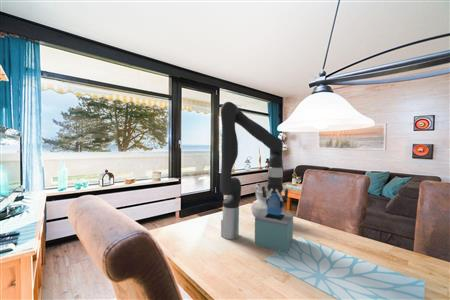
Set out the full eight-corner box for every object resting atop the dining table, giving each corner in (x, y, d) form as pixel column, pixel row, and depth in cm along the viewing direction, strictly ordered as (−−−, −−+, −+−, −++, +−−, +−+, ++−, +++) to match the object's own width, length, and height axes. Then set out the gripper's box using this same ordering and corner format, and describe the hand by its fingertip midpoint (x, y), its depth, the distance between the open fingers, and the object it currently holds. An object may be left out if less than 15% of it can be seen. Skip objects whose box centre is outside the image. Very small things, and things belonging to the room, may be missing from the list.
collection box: (254, 244, 108) (254, 218, 107) (263, 232, 122) (264, 209, 122) (287, 252, 100) (287, 224, 100) (292, 238, 115) (293, 213, 114)
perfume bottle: (281, 212, 112) (282, 190, 111) (278, 215, 106) (279, 192, 106) (270, 210, 115) (271, 188, 115) (267, 213, 110) (267, 190, 109)
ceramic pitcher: (243, 220, 145) (241, 185, 143) (262, 212, 156) (261, 180, 154) (267, 231, 128) (265, 191, 125) (286, 221, 139) (285, 185, 137)
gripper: (290, 175, 110) (289, 206, 111) (264, 173, 117) (263, 203, 117) (287, 177, 104) (287, 210, 104) (260, 175, 110) (259, 206, 111)
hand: (274, 206), depth 111 cm, fingers closed on perfume bottle, 6 cm apart
